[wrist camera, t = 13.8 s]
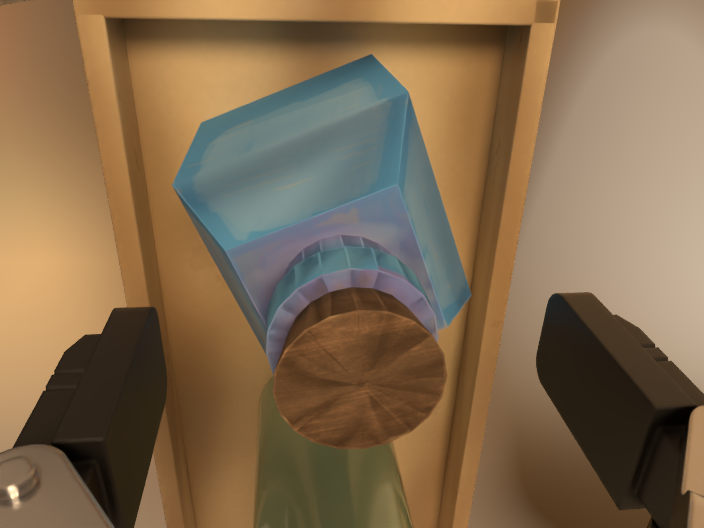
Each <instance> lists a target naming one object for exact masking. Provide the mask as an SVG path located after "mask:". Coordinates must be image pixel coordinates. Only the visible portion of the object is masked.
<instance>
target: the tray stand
mask: <svg viewBox="0 0 704 528" xmlns="http://www.w3.org/2000/svg"><path fill="white" fill-rule="evenodd" d="M72 1H73V7H74V13H75V18H76V24H77V29H78V34H79V40H80V46H81V51H82V57H83V62H84V68H85V74H86V79H87V85H88V91H89V96H90V102H91V107H92V113H93V118H94V124H95V129H96V135H97V140H98V146H99V152H100V157H101V163H102V169H103V174H104V180H105V185H106V191H107V196H108V202H109V207H110V213H111V218H112V224H113V230H114V235H115V241H116V247H117V252H118V258H119V263H120V269H121V275H122V279H123V286H124V291H125V297H126V302H127V308H129V307H155V308H156V310H157V312H158V317H159V323H160V330H161V336H162V343H163V350H164V356H165V363H166V370H167V397H166V403H165V407H164V411H163V415H162V419H161V423H160V427H159V430H158V434H157V438H156V442H155V446H154V450H153V453H154V458H155V464H156V470H157V475H158V480H159V486H160V491H161V497H162V503H163V508H164V514H165V520H166V525H167V528H253V510H254V488H255V466H256V444H257V422H258V404H259V398H260V396H261V393H262V391H263V389H264V387H265V385H266V384H267V383H268V382H269V380H270V379H271V378H272V377H273V376H274V375H273V373H272V370H271V367H270V364H269V361H268V358H267V355H266V354H265V352H264V350H263V348H262V346H261V344H260V343H259V341H258V339H257V337H256V335H255V334H254V332H253V330H252V328H251V326H250V325H249V323H248V321H247V319H246V317H245V316H244V314H243V312H242V310H241V308H240V307H239V305H238V303H237V301H236V299H235V298H234V296H233V294H232V292H231V290H230V289H229V287H228V285H227V283H226V281H225V280H224V278H223V276H222V274H221V272H220V271H219V269H218V267H217V265H216V263H215V262H214V260H213V258H212V256H211V254H210V253H209V251H208V249H207V247H206V245H205V244H204V242H203V240H202V238H201V236H200V235H199V233H198V231H197V229H196V227H195V226H194V224H193V222H192V220H191V218H190V217H189V215H188V213H187V211H186V209H185V208H184V206H183V204H182V202H181V200H180V199H179V197H178V195H177V193H176V191H175V190H174V188H173V186H172V184H173V182H174V180H175V177H176V175H177V173H178V171H179V169H180V167H181V165H182V163H183V160H184V158H185V156H186V154H187V152H188V150H189V148H190V145H191V143H192V141H193V139H194V137H195V135H196V133H197V130H198V128H199V126H200V124H201V122H204V121H206V120H209V119H211V118H214V117H216V116H219V115H221V114H224V113H226V112H228V111H231V110H233V109H236V108H238V107H241V106H243V105H246V104H248V103H251V102H253V101H256V100H258V99H261V98H263V97H266V96H268V95H271V94H273V93H276V92H278V91H281V90H283V89H286V88H288V87H291V86H293V85H296V84H298V83H301V82H303V81H305V80H308V79H310V78H313V77H315V76H318V75H320V74H323V73H325V72H328V71H330V70H333V69H335V68H338V67H340V66H343V65H345V64H348V63H350V62H353V61H355V60H358V59H360V58H363V57H365V56H368V55H370V54H372V55H373V56H374V57H375V58H376V59H377V60H378V61H379V62H380V63H381V64H382V65H383V66H384V67H385V68H386V69H387V70H388V71H389V72H390V73H391V74H392V75H393V76H394V77H395V78H396V79H397V80H398V81H399V82H400V83H401V84H402V85H403V86H404V87H405V88H406V89H407V90H408V92H409V95H410V98H411V101H412V105H413V108H414V111H415V114H416V117H417V121H418V124H419V127H420V130H421V134H422V137H423V140H424V143H425V146H426V150H427V153H428V156H429V159H430V163H431V166H432V169H433V172H434V176H435V179H436V182H437V185H438V188H439V192H440V195H441V198H442V201H443V205H444V208H445V211H446V214H447V218H448V221H449V224H450V227H451V230H452V234H453V237H454V240H455V243H456V247H457V250H458V253H459V256H460V260H461V263H462V266H463V269H464V272H465V276H466V279H467V282H468V285H469V289H470V292H471V295H472V296H471V297H470V298H469V300H468V301H467V302H466V304H465V305H464V306H463V308H462V309H461V310H460V312H459V313H458V314H457V316H456V317H455V318H454V320H453V321H452V322H451V324H450V325H449V326H448V328H445V329H442V330H439V331H438V335H439V338H438V342H437V343H438V345H439V347H440V348H441V350H442V351H443V353H444V356H445V363H446V370H447V380H446V384H445V388H444V392H443V396H442V398H441V400H440V401H439V403H438V404H437V406H436V407H435V409H434V411H433V412H432V414H431V415H430V417H428V418H427V419H426V420H425V421H424V422H423V423H421V424H420V425H419V426H418V427H417V428H416V429H414V430H413V431H412V432H411V433H409V434H407V435H404V436H402V437H400V438H398V439H396V440H394V441H393V442H394V446H395V450H396V455H397V459H398V463H399V467H400V472H401V476H402V480H403V484H404V488H405V493H406V497H407V501H408V505H409V509H410V514H411V518H412V522H413V526H414V528H468V522H469V517H470V511H471V505H472V499H473V494H474V488H475V482H476V477H477V471H478V465H479V459H480V453H481V448H482V442H483V437H484V431H485V426H486V420H487V414H488V409H489V403H490V397H491V391H492V386H493V380H494V374H495V369H496V363H497V357H498V352H499V346H500V340H501V334H502V329H503V323H504V318H505V312H506V306H507V301H508V294H509V289H510V283H511V277H512V272H513V266H514V261H515V255H516V249H517V244H518V238H519V232H520V226H521V221H522V215H523V210H524V204H525V198H526V193H527V187H528V181H529V176H530V170H531V164H532V158H533V152H534V147H535V141H536V135H537V130H538V124H539V119H540V113H541V107H542V102H543V96H544V90H545V85H546V79H547V73H548V67H549V61H550V56H551V50H552V45H553V39H554V33H555V28H556V22H557V16H558V11H559V5H560V0H72Z"/></svg>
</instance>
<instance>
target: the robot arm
mask: <svg viewBox="0 0 704 528" xmlns="http://www.w3.org/2000/svg"><path fill="white" fill-rule="evenodd" d="M536 367H537V373H538V377H539V380H540V382H541V384H542V386H543V387H544V389H545V391H546V392H547V394H548V396H549V397H550V399H551V401H552V402H553V404H554V405H555V407H556V408H557V410H558V412H559V413H560V415H561V417H562V418H563V420H564V422H565V423H566V425H567V426H568V428H569V430H570V431H571V433H572V435H573V436H574V438H575V439H576V441H577V443H578V444H579V446H580V447H581V449H582V451H583V452H584V454H585V455H586V457H587V459H588V460H589V462H590V463H591V465H592V467H593V468H594V470H595V472H596V473H597V475H598V477H599V478H600V480H601V481H602V483H603V485H604V486H605V488H606V490H607V491H608V493H609V494H610V496H611V498H612V499H613V501H614V502H615V504H616V506H617V507H618V509H619V510H628V509H640V508H646V509H647V510H648V512H649V513H650V515H651V518H650V521H649V523H648V526H647V528H704V394H703V393H702V392H701V391H700V390H699V389H698V388H697V387H696V386H695V385H694V384H693V383H692V382H691V381H690V380H689V379H688V378H687V376H686V375H685V374H684V373H683V372H682V371H681V370H679V368H678V367H677V366H676V365H675V364H674V363H673V362H672V361H668V357H667V356H666V355H665V354H664V353H663V352H662V351H661V350H660V349H659V348H655V344H654V343H653V342H652V341H651V340H650V339H649V338H648V337H647V335H645V333H644V332H643V331H642V330H641V329H640V328H638V327H636V326H635V325H633V324H631V323H630V322H628V321H626V320H624V319H623V318H621V317H620V316H618V315H612V314H611V313H610V311H609V310H608V309H607V308H606V307H605V306H604V305H603V304H602V303H601V302H600V301H599V300H598V299H597V298H596V297H595V296H594V295H593V294H592V293H589V292H584V293H556V294H553V295H552V296H551V297H550V299H549V301H548V304H547V308H546V313H545V318H544V322H543V327H542V332H541V336H540V341H539V345H538V350H537V356H536ZM54 372H55V373H54V375H52V376H51V378H50V380H49V382H48V384H47V385H46V391H43V393H42V395H41V396H40V398H39V400H38V402H37V404H36V406H35V408H34V409H33V411H32V413H31V415H30V417H29V419H28V420H27V422H26V424H25V426H24V428H23V430H22V431H21V433H20V435H19V437H18V439H17V441H16V442H15V444H14V446H13V448H12V449H9V450H6V451H4V452H2V453H0V528H134V525H135V521H136V517H137V513H138V509H139V505H140V501H141V498H142V494H143V490H144V486H145V481H146V477H147V474H148V470H149V466H150V462H151V458H152V454H153V450H154V446H155V442H156V438H157V434H158V430H159V427H160V423H161V419H162V415H163V411H164V407H165V403H166V397H167V370H166V363H165V356H164V350H163V343H162V336H161V330H160V323H159V317H158V312H157V310H156V308H155V307H129V308H114V309H113V311H112V312H111V314H110V317H109V319H108V321H107V323H106V325H105V327H104V329H103V332H102V334H92V335H84V336H83V337H82V338H81V339H79V340H78V341H77V342H76V343H75V344H73V345H72V346H71V347H70V348H69V349H67V350H66V351H65V352H64V354H63V356H62V358H61V360H60V361H59V363H58V365H57V367H56V369H55V371H54Z"/></svg>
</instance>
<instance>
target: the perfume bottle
mask: <svg viewBox="0 0 704 528" xmlns="http://www.w3.org/2000/svg"><path fill="white" fill-rule="evenodd" d="M172 186H173V188H174V190H175V191H176V193H177V195H178V197H179V199H180V200H181V202H182V204H183V206H184V208H185V209H186V211H187V213H188V215H189V217H190V218H191V220H192V222H193V224H194V226H195V227H196V229H197V231H198V233H199V235H200V236H201V238H202V240H203V242H204V244H205V245H206V247H207V249H208V251H209V253H210V254H211V256H212V258H213V260H214V262H215V263H216V265H217V267H218V269H219V271H220V272H221V274H222V276H223V278H224V280H225V281H226V283H227V285H228V287H229V289H230V290H231V292H232V294H233V296H234V298H235V299H236V301H237V303H238V305H239V307H240V308H241V310H242V312H243V314H244V316H245V317H246V319H247V321H248V323H249V325H250V326H251V328H252V330H253V332H254V334H255V335H256V337H257V339H258V341H259V343H260V344H261V346H262V348H263V350H264V352H265V354H266V355H267V358H268V361H269V364H270V367H271V370H272V373H273V375H274V384H273V396H274V399H275V402H276V405H277V407H278V410H279V413H280V415H281V416H282V417H283V418H284V420H285V421H286V422H287V423H288V424H289V425H290V427H291V428H292V429H293V430H294V431H295V432H297V433H299V434H300V435H302V436H304V437H305V438H307V439H309V440H310V441H312V442H314V443H317V444H321V445H325V446H329V447H332V448H336V449H366V448H370V447H375V446H379V445H384V444H388V443H390V442H392V441H394V440H396V439H398V438H400V437H402V436H404V435H407V434H409V433H411V432H412V431H413V430H414V429H416V428H417V427H418V426H419V425H420V424H421V423H423V422H424V421H425V420H426V419H427V418H428V417H430V415H431V414H432V412H433V411H434V409H435V407H436V406H437V404H438V403H439V401H440V400H441V398H442V396H443V392H444V388H445V384H446V380H447V370H446V363H445V356H444V353H443V351H442V350H441V348H440V347H439V345H438V343H437V342H438V338H439V335H438V331H439V330H442V329H445V328H448V326H449V325H450V324H451V322H452V321H453V320H454V318H455V317H456V316H457V314H458V313H459V312H460V310H461V309H462V308H463V306H464V305H465V304H466V302H467V301H468V300H469V298H470V297H471V296H472V295H471V292H470V289H469V285H468V282H467V279H466V276H465V272H464V269H463V266H462V263H461V260H460V256H459V253H458V250H457V247H456V243H455V240H454V237H453V234H452V230H451V227H450V224H449V221H448V218H447V214H446V211H445V208H444V205H443V201H442V198H441V195H440V192H439V188H438V185H437V182H436V179H435V176H434V172H433V169H432V166H431V163H430V159H429V156H428V153H427V150H426V146H425V143H424V140H423V137H422V134H421V130H420V127H419V124H418V121H417V117H416V114H415V111H414V108H413V105H412V101H411V98H410V95H409V92H408V90H407V89H406V88H405V87H404V86H403V85H402V84H401V83H400V82H399V81H398V80H397V79H396V78H395V77H394V76H393V75H392V74H391V73H390V72H389V71H388V70H387V69H386V68H385V67H384V66H383V65H382V64H381V63H380V62H379V61H378V60H377V59H376V58H375V57H374V56H373V55H372V54H370V55H368V56H365V57H363V58H360V59H358V60H355V61H353V62H350V63H348V64H345V65H343V66H340V67H338V68H335V69H333V70H330V71H328V72H325V73H323V74H320V75H318V76H315V77H313V78H310V79H308V80H305V81H303V82H301V83H298V84H296V85H293V86H291V87H288V88H286V89H283V90H281V91H278V92H276V93H273V94H271V95H268V96H266V97H263V98H261V99H258V100H256V101H253V102H251V103H248V104H246V105H243V106H241V107H238V108H236V109H233V110H231V111H228V112H226V113H224V114H221V115H219V116H216V117H214V118H211V119H209V120H206V121H204V122H201V124H200V126H199V128H198V130H197V133H196V135H195V137H194V139H193V141H192V143H191V145H190V148H189V150H188V152H187V154H186V156H185V158H184V160H183V163H182V165H181V167H180V169H179V171H178V173H177V175H176V177H175V180H174V182H173V184H172Z"/></svg>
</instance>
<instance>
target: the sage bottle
mask: <svg viewBox="0 0 704 528" xmlns="http://www.w3.org/2000/svg"><path fill="white" fill-rule="evenodd" d="M273 384H274V376H273V377H272V378H271V379H270V380H269V382H268V383H267V384H266V385H265V387H264V389H263V391H262V393H261V396H260V398H259V404H258V422H257V444H256V466H255V488H254V510H253V528H414V526H413V522H412V518H411V514H410V509H409V505H408V501H407V497H406V493H405V488H404V484H403V480H402V476H401V472H400V467H399V463H398V459H397V455H396V450H395V446H394V442H393V441H392V442H390V443H388V444H384V445H379V446H375V447H370V448H366V449H336V448H332V447H329V446H325V445H321V444H317V443H314V442H312V441H310V440H309V439H307V438H305V437H304V436H302V435H300V434H299V433H297V432H295V431H294V430H293V429H292V428H291V427H290V425H289V424H288V423H287V422H286V421H285V420H284V418H283V417H282V416H281V415H280V413H279V410H278V407H277V405H276V402H275V399H274V396H273Z"/></svg>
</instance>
